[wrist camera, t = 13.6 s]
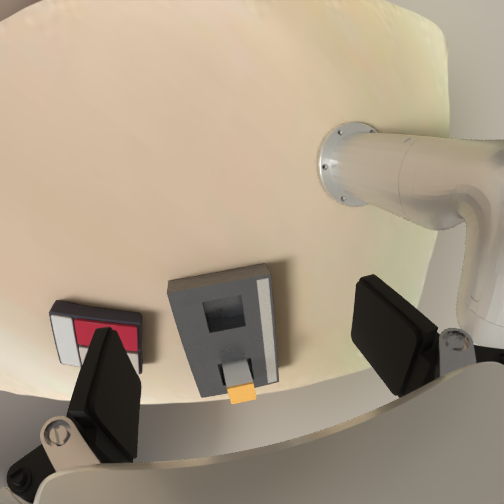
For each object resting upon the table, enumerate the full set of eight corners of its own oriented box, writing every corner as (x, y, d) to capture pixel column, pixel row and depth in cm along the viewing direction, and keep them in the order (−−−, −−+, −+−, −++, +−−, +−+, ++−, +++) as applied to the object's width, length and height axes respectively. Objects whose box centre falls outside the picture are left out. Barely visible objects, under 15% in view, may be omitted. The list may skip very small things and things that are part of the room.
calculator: (142, 377, 41) (59, 366, 36) (142, 360, 44) (64, 350, 40) (140, 326, 37) (46, 313, 32) (142, 309, 41) (55, 299, 36)
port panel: (264, 263, 41) (271, 274, 38) (273, 368, 50) (279, 382, 46) (168, 280, 39) (166, 293, 36) (200, 383, 48) (201, 398, 44)
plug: (243, 349, 46) (253, 383, 39) (246, 365, 47) (256, 398, 40) (220, 354, 45) (226, 389, 38) (224, 370, 47) (231, 404, 40)
